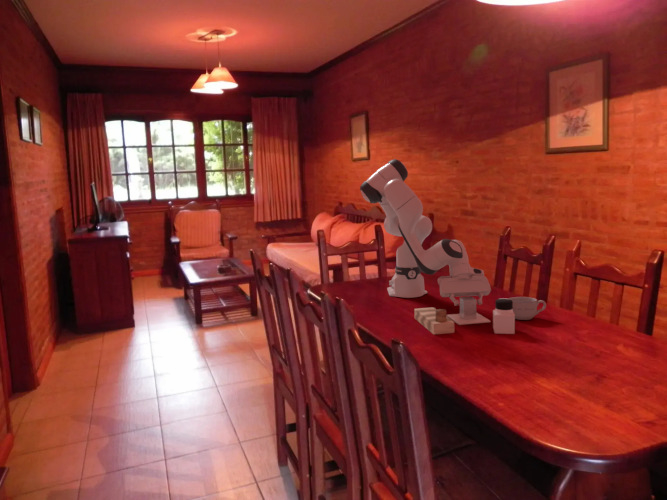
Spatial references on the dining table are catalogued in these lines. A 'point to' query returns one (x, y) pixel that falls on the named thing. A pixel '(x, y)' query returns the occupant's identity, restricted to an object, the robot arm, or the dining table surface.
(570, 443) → the dining table surface
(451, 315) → the off-white pad
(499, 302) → the medicine bottle
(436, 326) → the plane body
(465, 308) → the gray rectangular block
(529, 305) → the teacup
